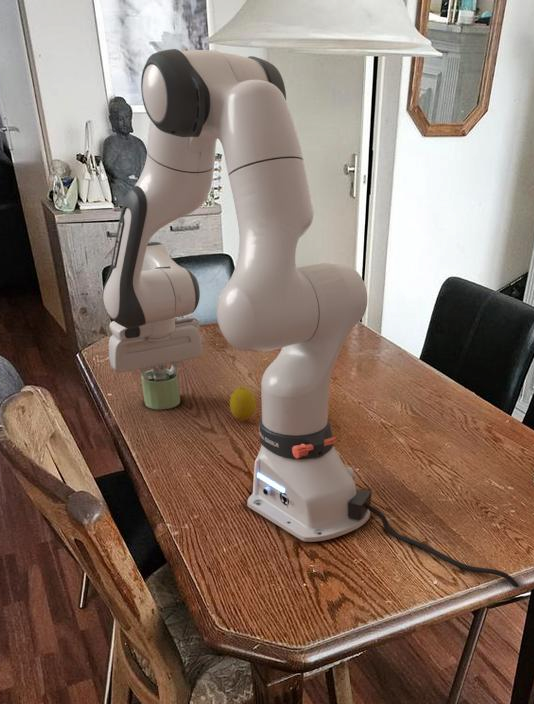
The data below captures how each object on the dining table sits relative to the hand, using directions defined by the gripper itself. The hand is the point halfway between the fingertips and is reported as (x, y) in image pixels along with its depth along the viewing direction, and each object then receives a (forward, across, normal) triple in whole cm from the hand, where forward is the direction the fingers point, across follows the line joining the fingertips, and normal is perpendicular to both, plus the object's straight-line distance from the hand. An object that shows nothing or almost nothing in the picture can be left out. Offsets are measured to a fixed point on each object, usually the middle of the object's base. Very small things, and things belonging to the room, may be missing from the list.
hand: (160, 382), depth 141 cm
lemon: (+5, -11, +18) cm, 22 cm away
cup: (+5, 0, 0) cm, 5 cm away
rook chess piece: (+4, 0, 0) cm, 4 cm away
